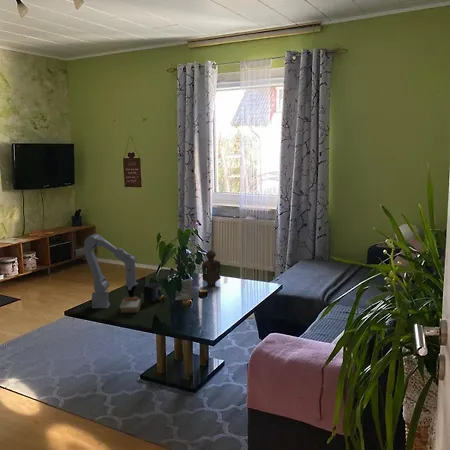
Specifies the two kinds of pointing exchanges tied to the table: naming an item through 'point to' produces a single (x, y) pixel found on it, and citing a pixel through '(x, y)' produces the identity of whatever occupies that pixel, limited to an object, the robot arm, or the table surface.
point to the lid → (130, 302)
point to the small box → (152, 292)
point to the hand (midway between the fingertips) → (131, 297)
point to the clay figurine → (211, 269)
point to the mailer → (131, 309)
